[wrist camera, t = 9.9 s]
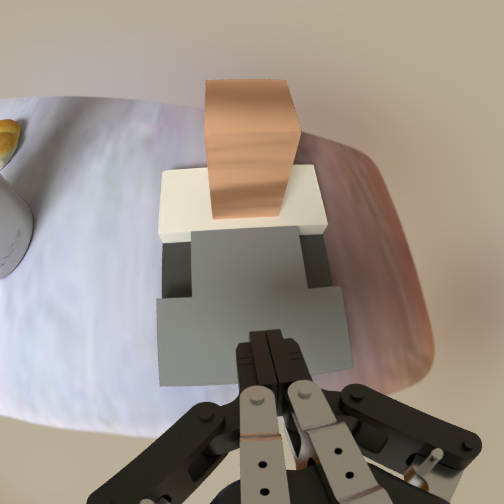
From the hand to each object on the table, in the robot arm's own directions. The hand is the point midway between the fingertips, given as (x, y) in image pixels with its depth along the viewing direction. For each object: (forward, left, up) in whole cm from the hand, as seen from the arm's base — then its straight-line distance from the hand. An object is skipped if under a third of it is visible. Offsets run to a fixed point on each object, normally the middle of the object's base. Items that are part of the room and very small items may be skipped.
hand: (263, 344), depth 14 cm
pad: (-6, +10, -7) cm, 14 cm away
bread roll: (-41, +4, -8) cm, 41 cm away
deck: (-2, +3, -7) cm, 8 cm away
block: (-6, +11, -5) cm, 13 cm away
